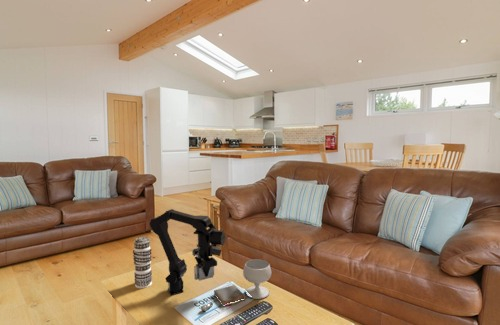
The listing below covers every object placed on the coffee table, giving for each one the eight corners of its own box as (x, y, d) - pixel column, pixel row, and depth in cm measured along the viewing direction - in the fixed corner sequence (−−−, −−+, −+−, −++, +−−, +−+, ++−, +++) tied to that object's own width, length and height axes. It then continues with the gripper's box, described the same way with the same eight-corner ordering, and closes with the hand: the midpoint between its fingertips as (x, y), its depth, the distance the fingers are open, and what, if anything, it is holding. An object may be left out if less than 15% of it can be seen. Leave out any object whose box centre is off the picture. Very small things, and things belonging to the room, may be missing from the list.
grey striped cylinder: (132, 289, 148) (130, 242, 146) (135, 280, 157) (134, 235, 155) (151, 287, 150) (149, 240, 147) (153, 279, 159) (152, 234, 157)
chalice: (252, 283, 154) (252, 256, 153) (276, 290, 147) (276, 262, 146) (237, 295, 142) (237, 266, 141) (262, 304, 135) (262, 273, 134)
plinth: (223, 306, 133) (223, 301, 133) (214, 295, 142) (214, 290, 142) (244, 300, 138) (244, 294, 138) (234, 289, 148) (234, 284, 148)
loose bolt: (205, 312, 128) (205, 307, 128) (200, 310, 130) (201, 305, 129) (213, 306, 133) (213, 300, 133) (209, 304, 135) (209, 299, 134)
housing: (196, 281, 136) (196, 269, 136) (193, 277, 141) (192, 265, 140) (216, 276, 141) (215, 264, 141) (212, 272, 145) (212, 260, 145)
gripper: (227, 246, 135) (227, 278, 137) (212, 234, 151) (212, 263, 153) (204, 250, 130) (205, 284, 131) (191, 238, 146) (192, 268, 147)
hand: (204, 274), depth 141 cm, fingers closed on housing, 5 cm apart
